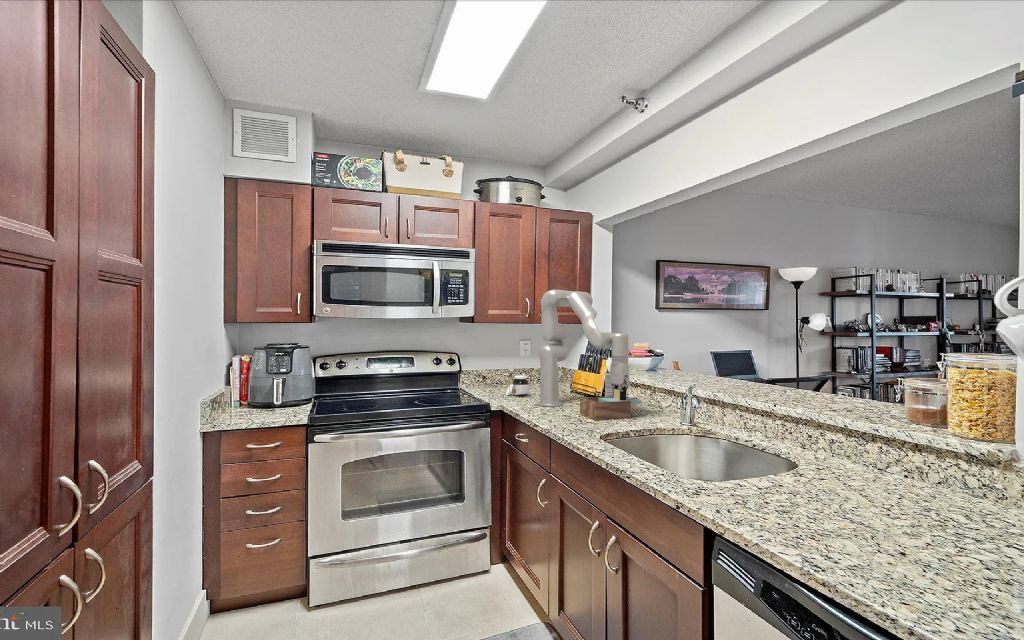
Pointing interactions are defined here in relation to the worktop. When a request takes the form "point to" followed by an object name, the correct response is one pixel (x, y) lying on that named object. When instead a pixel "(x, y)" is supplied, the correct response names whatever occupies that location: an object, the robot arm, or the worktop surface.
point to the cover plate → (619, 398)
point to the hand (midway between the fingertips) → (619, 398)
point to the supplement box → (608, 386)
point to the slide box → (604, 409)
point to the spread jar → (519, 386)
